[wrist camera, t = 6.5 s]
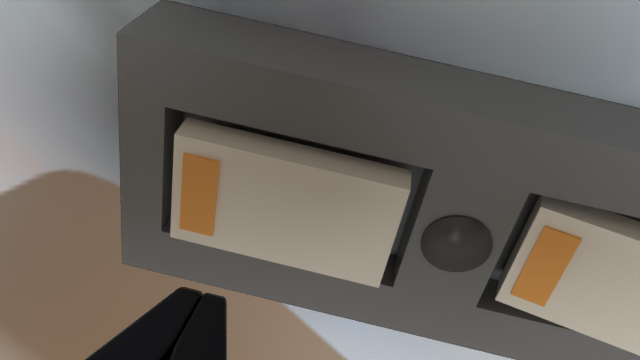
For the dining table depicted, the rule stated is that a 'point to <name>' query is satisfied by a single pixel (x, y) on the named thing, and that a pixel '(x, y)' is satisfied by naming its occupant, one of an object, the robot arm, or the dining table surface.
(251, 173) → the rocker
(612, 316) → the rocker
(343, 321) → the dining table surface
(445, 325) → the rocker switch box
